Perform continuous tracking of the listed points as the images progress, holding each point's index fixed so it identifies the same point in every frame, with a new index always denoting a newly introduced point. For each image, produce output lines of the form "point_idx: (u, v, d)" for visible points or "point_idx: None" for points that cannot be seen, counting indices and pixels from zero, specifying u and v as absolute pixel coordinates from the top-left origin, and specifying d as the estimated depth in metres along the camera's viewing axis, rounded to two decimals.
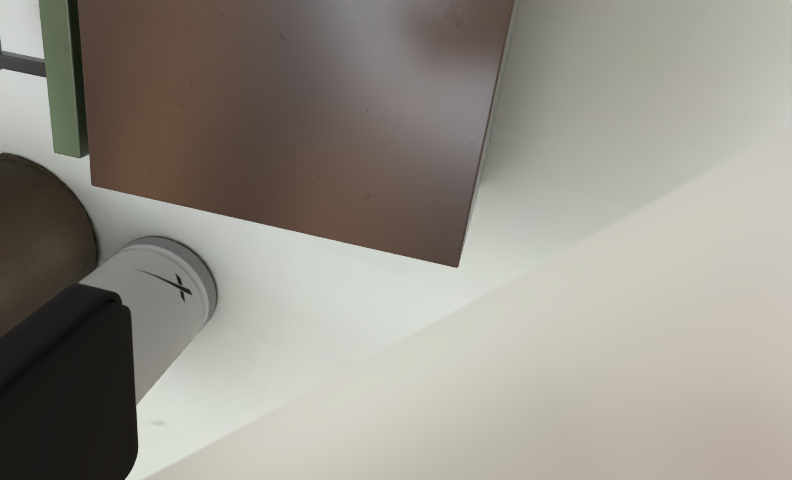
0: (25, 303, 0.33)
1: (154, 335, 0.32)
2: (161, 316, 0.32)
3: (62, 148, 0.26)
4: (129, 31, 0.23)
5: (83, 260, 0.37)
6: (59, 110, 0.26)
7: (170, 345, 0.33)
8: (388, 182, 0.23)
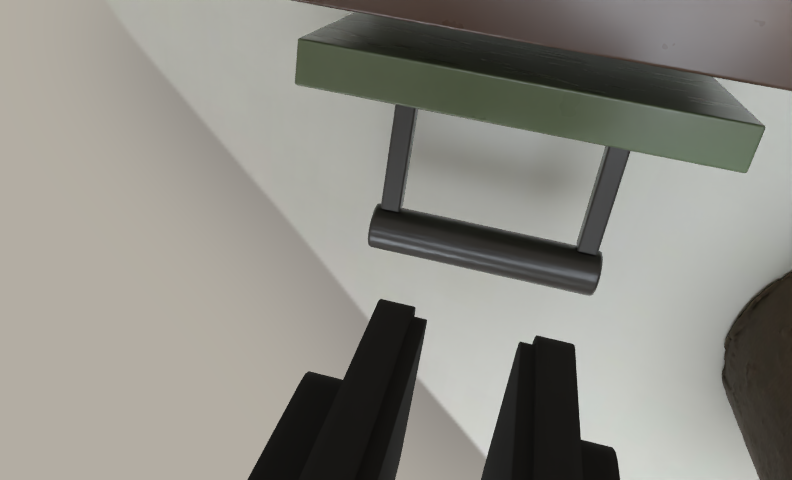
0: None
1: None
2: None
3: (741, 155, 0.16)
4: None
5: None
6: (674, 141, 0.16)
7: None
8: None
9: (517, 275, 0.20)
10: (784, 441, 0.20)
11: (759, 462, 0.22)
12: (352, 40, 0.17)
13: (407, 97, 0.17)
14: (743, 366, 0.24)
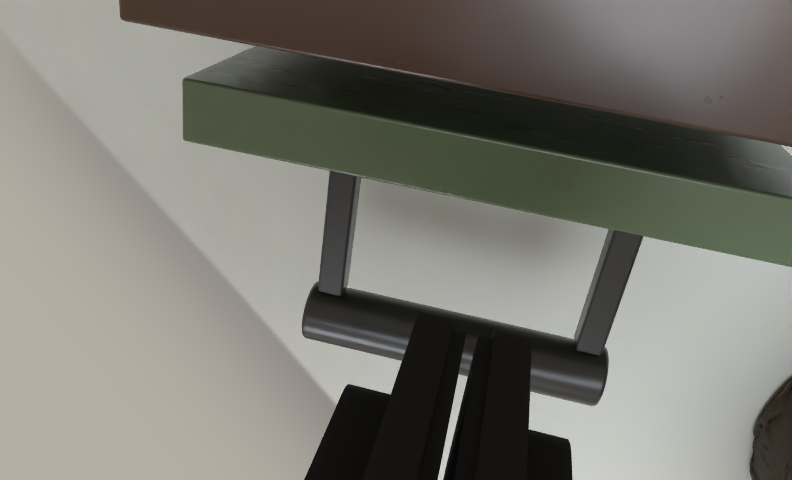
0: None
1: None
2: None
3: None
4: None
5: None
6: (714, 226, 0.11)
7: None
8: None
9: None
10: None
11: None
12: (263, 78, 0.12)
13: (337, 160, 0.12)
14: (779, 465, 0.20)
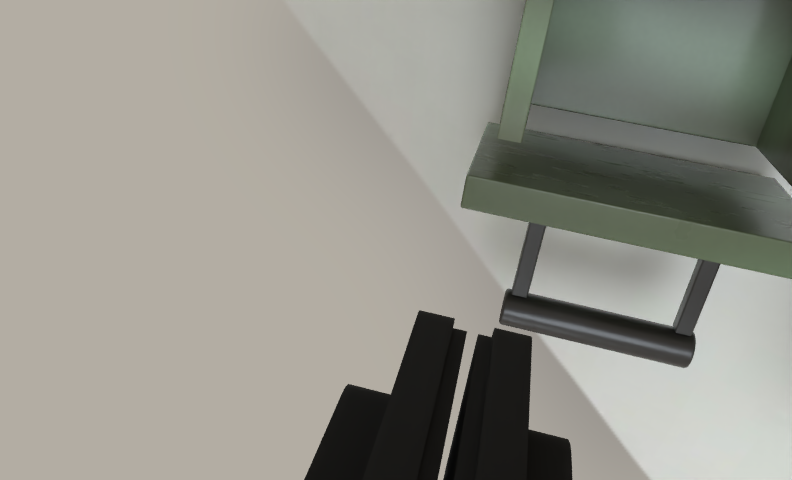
0: None
1: None
2: None
3: None
4: None
5: None
6: (765, 260, 0.20)
7: None
8: None
9: (624, 350, 0.24)
10: None
11: None
12: (505, 172, 0.22)
13: (551, 220, 0.21)
14: None
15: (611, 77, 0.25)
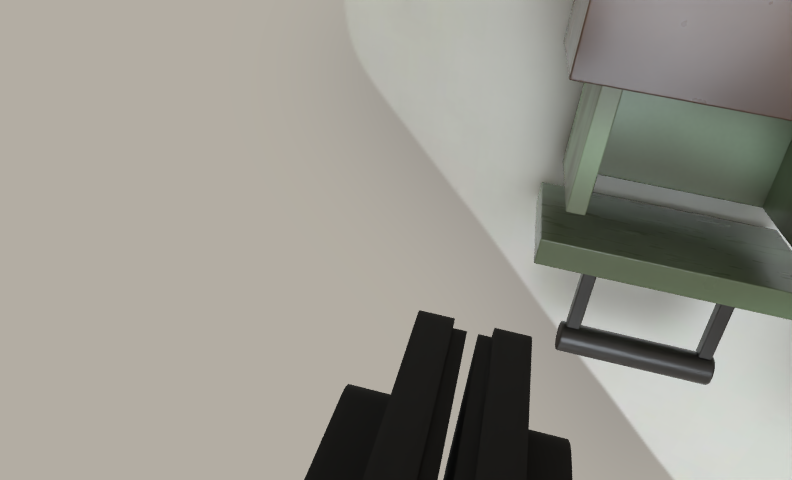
0: None
1: None
2: None
3: None
4: (776, 58, 0.22)
5: None
6: (772, 306, 0.26)
7: None
8: None
9: (658, 371, 0.30)
10: None
11: None
12: (568, 235, 0.28)
13: (607, 274, 0.27)
14: None
15: (647, 151, 0.30)
